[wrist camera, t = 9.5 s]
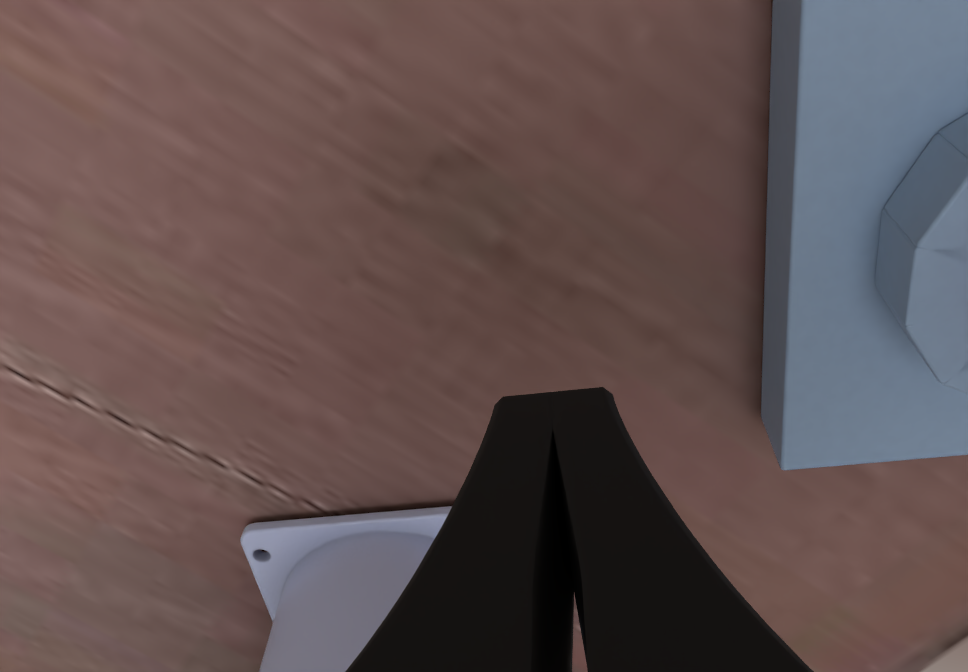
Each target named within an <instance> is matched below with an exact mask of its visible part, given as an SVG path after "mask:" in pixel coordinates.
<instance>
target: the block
mask: <svg viewBox="0 0 968 672" xmlns="http://www.w3.org/2000/svg"><path fill="white" fill-rule="evenodd" d="M761 418H762V421H763V423H764V426H765V429H766V431H767V434H768V437H769V439H770V442H771V445H772V447H773V450H774V452H775V455H776V458H777V460H778V463H779V466H780V468H781V469H782V470H794V469H806V468H818V467H829V466H841V465H853V464H864V463H876V462H888V461H899V460H911V459H923V458H934V457H946V456H957V455H968V0H773V8H772V43H771V78H770V114H769V149H768V184H767V219H766V255H765V290H764V325H763V361H762V396H761Z"/></svg>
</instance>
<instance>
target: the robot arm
mask: <svg viewBox="0 0 968 672" xmlns="http://www.w3.org/2000/svg"><path fill="white" fill-rule="evenodd" d="M240 540H241V545H242V547H243V550H244V552H245V555H246V557H247V560H248V562H249V565H250V567H251V570H252V572H253V574H254V577H255V579H256V582H257V584H258V587H259V589H260V592H261V594H262V597H263V599H264V601H265V604H266V606H267V609H268V611H269V614H270V616H271V619H272V621H273V625H272V628H271V632H270V635H269V639H268V642H267V646H266V649H265V653H264V656H263V660H262V663H261V666H260V670H259V672H572V651H573V611H574V593H575V599H576V605H577V610H578V616H579V622H580V628H581V633H582V639H583V645H584V651H585V656H586V662H587V668H588V672H814V671H812V670H811V669H810V668H809V667H808V666H807V665H806V664H805V663H804V662H803V661H802V660H801V659H800V658H799V657H798V656H797V655H796V654H795V653H794V652H793V650H792V649H791V648H790V647H789V646H788V645H787V644H786V643H785V642H784V641H783V640H782V639H781V638H780V637H779V636H778V635H777V634H776V633H775V632H774V631H773V630H772V629H771V628H770V627H769V626H768V624H767V623H766V622H765V621H764V620H763V619H762V618H761V617H760V616H759V614H758V613H757V612H756V611H755V610H754V609H753V608H752V607H751V605H750V604H749V603H748V602H747V601H746V600H745V599H744V598H743V597H742V595H741V594H740V593H739V592H738V591H737V590H736V588H735V587H734V586H733V585H732V584H731V582H730V581H729V580H728V579H727V578H726V577H725V575H724V574H723V573H722V572H721V570H720V569H719V568H718V567H717V565H716V564H715V563H714V562H713V560H712V559H711V558H710V557H709V555H708V554H707V553H706V551H705V550H704V549H703V547H702V546H701V545H700V543H699V542H698V541H697V540H696V538H695V537H694V536H693V534H692V533H691V532H690V530H689V529H688V528H687V526H686V525H685V523H684V522H683V521H682V519H681V518H680V516H679V515H678V514H677V512H676V511H675V509H674V508H673V506H672V505H671V503H670V502H669V500H668V499H667V497H666V496H665V494H664V493H663V491H662V489H661V488H660V486H659V485H658V483H657V482H656V480H655V479H654V477H653V476H652V474H651V473H650V471H649V469H648V468H647V466H646V464H645V463H644V461H643V459H642V458H641V456H640V454H639V452H638V450H637V448H636V447H635V445H634V443H633V441H632V439H631V438H630V436H629V434H628V432H627V430H626V428H625V426H624V423H623V421H622V419H621V417H620V414H619V412H618V409H617V407H616V404H615V401H614V398H613V394H611V393H610V392H609V391H607V390H606V389H605V388H603V387H599V388H589V389H578V390H568V391H558V392H547V393H537V394H527V395H516V396H506V397H502V398H501V399H500V400H499V401H498V402H497V403H496V404H495V406H494V409H493V413H492V416H491V419H490V422H489V425H488V428H487V431H486V433H485V436H484V438H483V441H482V443H481V446H480V448H479V451H478V453H477V455H476V458H475V460H474V462H473V464H472V467H471V469H470V471H469V473H468V475H467V477H466V480H465V482H464V484H463V486H462V488H461V490H460V492H459V494H458V496H457V498H456V500H455V502H454V504H453V506H446V507H435V508H423V509H411V510H399V511H388V512H376V513H364V514H352V515H341V516H329V517H317V518H305V519H294V520H282V521H270V522H258V523H252V524H249V525H248V526H246V527H245V528H244V531H243V533H242V536H241V539H240ZM259 549H261V550H265V551H267V552H263V551H261V550H259Z"/></svg>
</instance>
